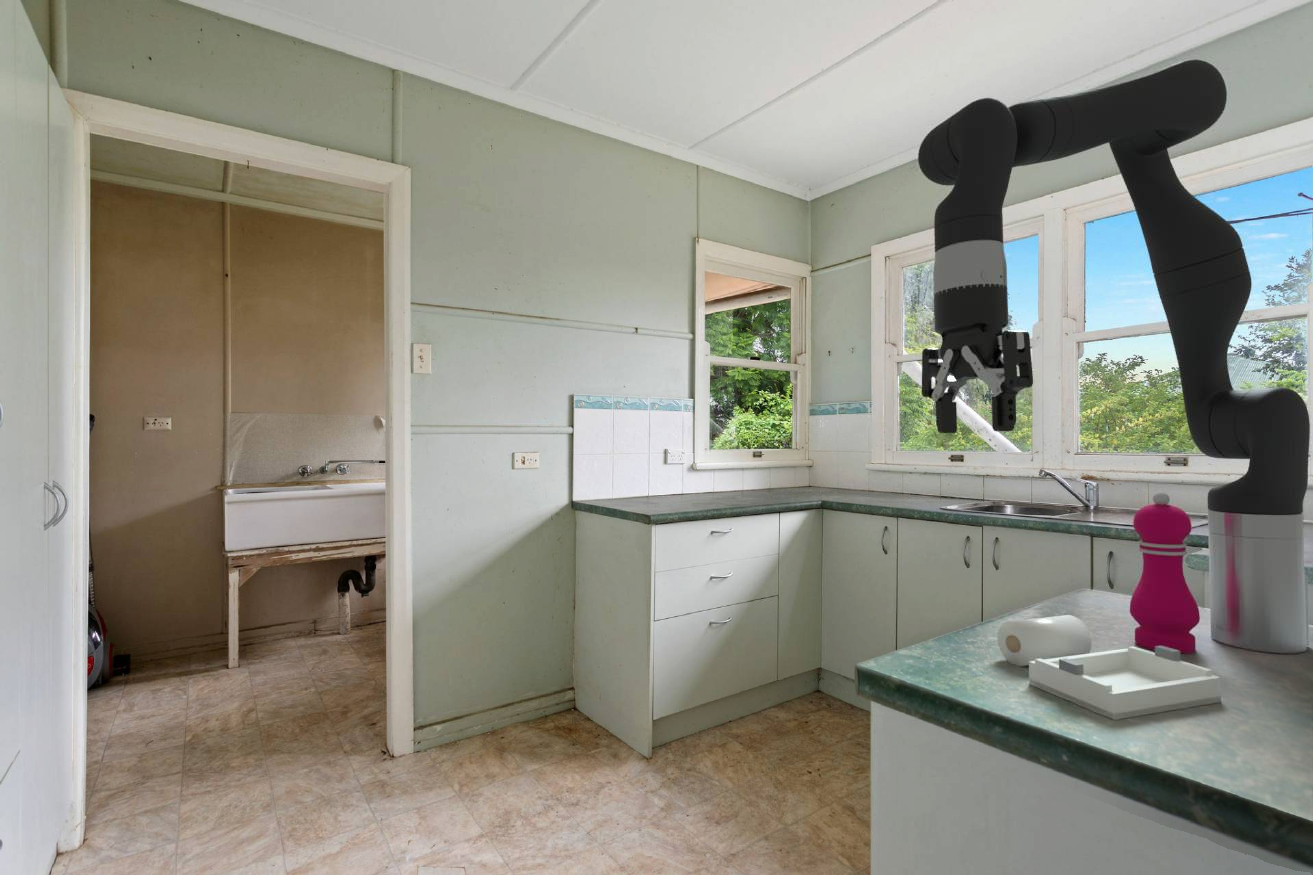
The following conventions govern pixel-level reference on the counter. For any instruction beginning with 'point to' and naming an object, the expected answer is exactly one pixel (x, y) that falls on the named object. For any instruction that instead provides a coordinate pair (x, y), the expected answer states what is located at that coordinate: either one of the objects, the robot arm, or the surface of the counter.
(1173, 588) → the pepper mill
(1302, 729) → the counter surface
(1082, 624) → the paper roll
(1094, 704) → the holder
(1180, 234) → the robot arm
